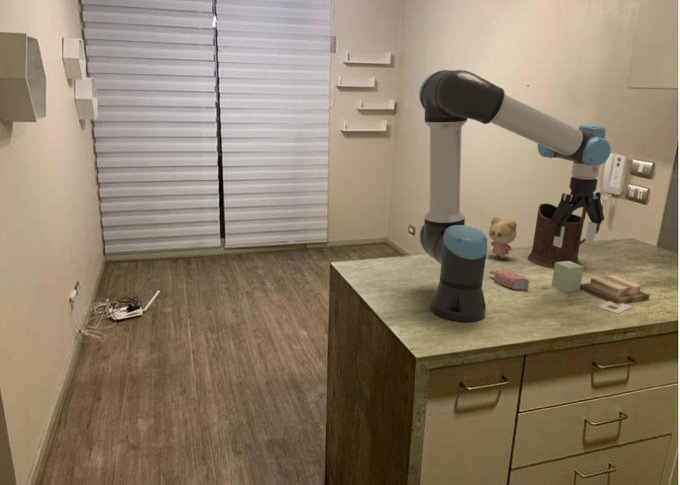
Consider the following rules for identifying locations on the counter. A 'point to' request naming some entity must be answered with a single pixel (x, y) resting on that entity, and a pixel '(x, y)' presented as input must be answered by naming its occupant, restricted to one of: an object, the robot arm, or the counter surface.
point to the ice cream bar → (510, 279)
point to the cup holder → (544, 238)
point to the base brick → (615, 289)
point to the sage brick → (567, 276)
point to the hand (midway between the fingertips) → (573, 244)
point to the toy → (502, 236)
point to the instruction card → (614, 307)
